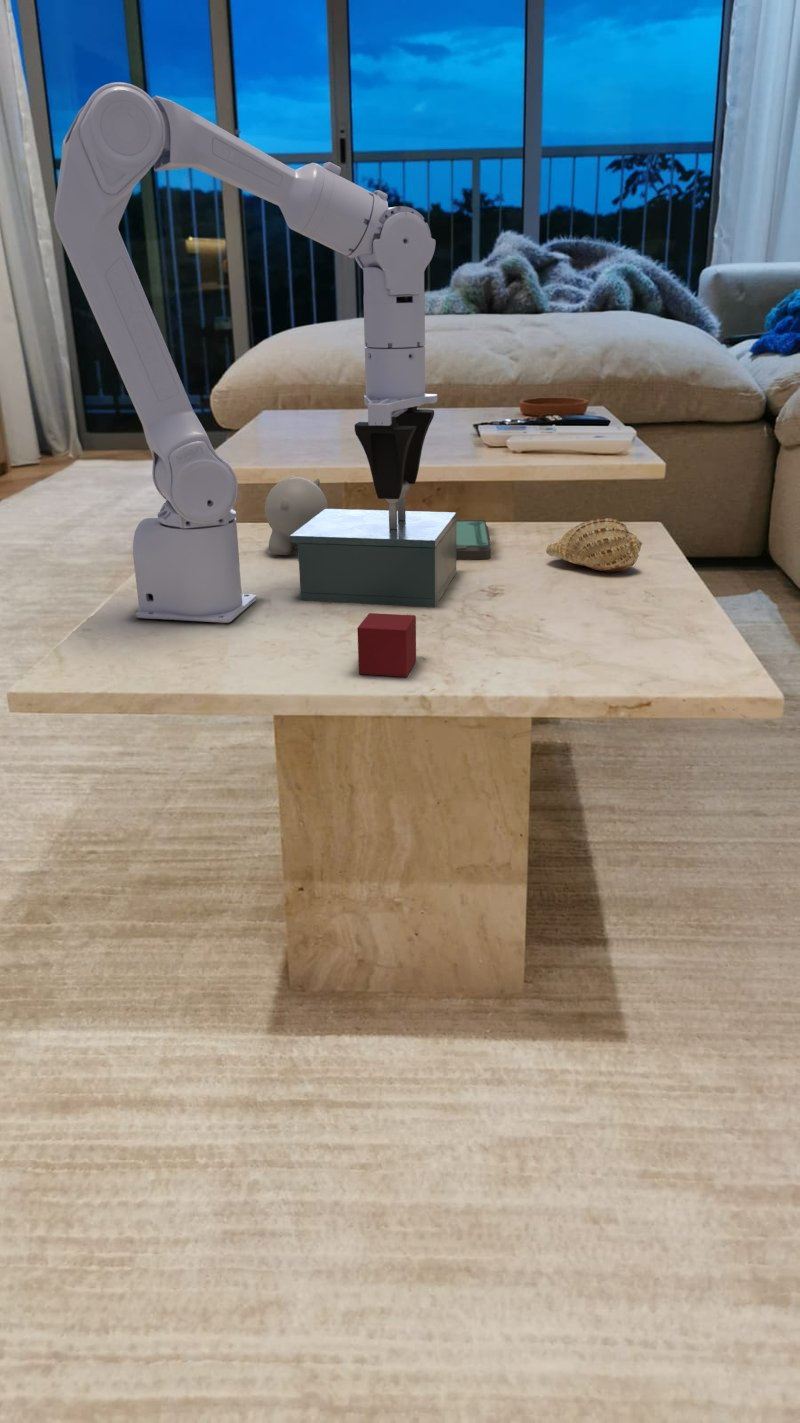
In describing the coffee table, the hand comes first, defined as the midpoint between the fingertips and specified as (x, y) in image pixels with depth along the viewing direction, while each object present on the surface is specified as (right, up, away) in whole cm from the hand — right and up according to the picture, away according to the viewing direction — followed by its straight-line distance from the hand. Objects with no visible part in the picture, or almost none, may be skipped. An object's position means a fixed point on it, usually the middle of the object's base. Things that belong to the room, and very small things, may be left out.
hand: (397, 490), depth 107 cm
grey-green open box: (-2, -9, +4) cm, 10 cm away
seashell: (+21, -6, +10) cm, 24 cm away
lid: (-2, -4, +2) cm, 5 cm away
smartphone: (+7, -2, +21) cm, 22 cm away
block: (-1, -18, -18) cm, 26 cm away
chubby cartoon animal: (-11, -3, +20) cm, 23 cm away
